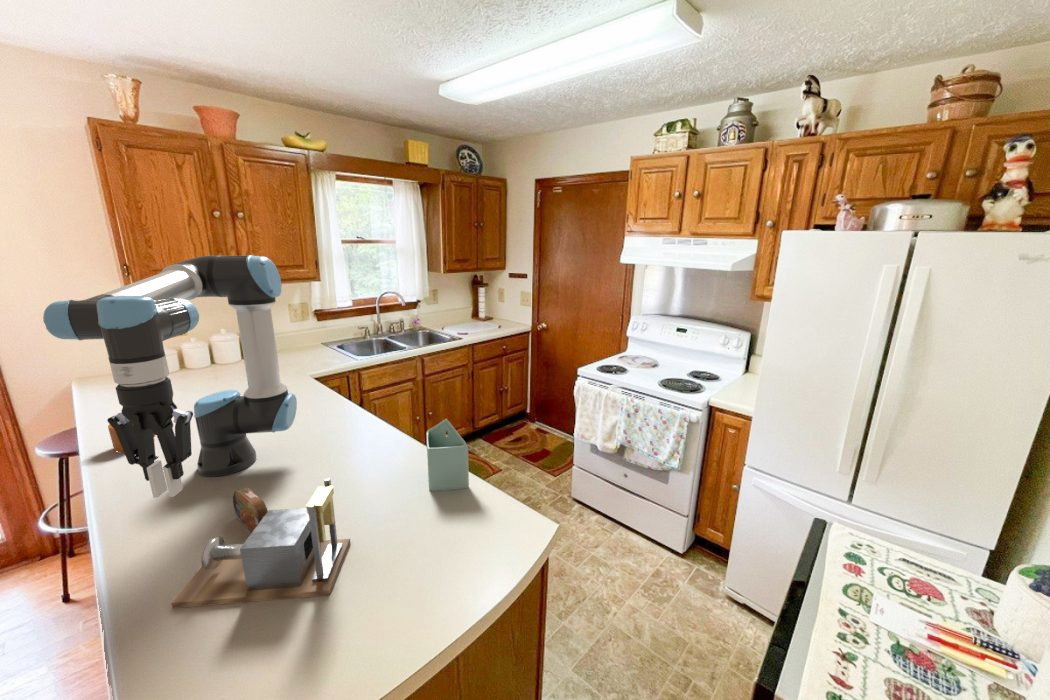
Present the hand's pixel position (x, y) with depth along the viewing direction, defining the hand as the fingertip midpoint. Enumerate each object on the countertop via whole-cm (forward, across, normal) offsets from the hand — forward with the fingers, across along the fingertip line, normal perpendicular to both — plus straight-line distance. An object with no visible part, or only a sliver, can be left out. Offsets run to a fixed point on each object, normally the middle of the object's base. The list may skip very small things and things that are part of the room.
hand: (168, 492), depth 81 cm
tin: (+21, +5, +17) cm, 27 cm away
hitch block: (+19, +22, 0) cm, 29 cm away
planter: (+21, +50, +30) cm, 62 cm away
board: (+20, +16, 0) cm, 26 cm away
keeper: (+11, +28, 0) cm, 30 cm away
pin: (+18, +13, 0) cm, 22 cm away
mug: (+21, -54, +64) cm, 86 cm away
